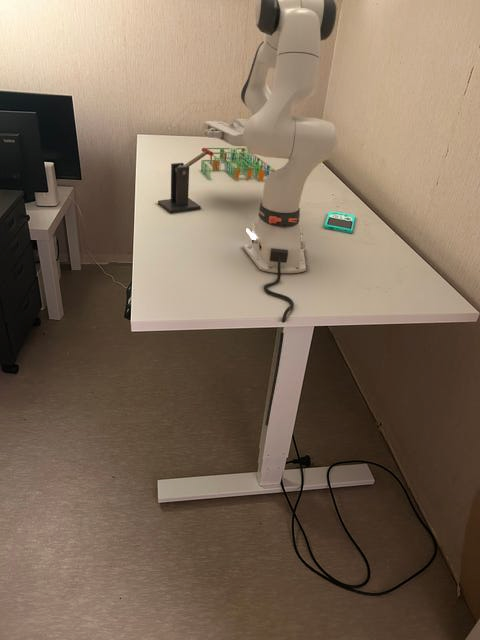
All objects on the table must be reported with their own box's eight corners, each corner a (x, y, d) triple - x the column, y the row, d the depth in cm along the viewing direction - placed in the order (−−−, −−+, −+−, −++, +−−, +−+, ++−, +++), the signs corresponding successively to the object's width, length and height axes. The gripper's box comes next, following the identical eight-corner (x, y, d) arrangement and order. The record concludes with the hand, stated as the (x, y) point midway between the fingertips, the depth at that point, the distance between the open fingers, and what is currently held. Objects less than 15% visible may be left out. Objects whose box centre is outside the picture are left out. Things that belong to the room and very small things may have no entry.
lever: (206, 151, 165) (203, 145, 163) (214, 155, 161) (211, 149, 160) (174, 173, 162) (171, 167, 160) (182, 177, 159) (179, 172, 157)
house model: (275, 180, 204) (277, 169, 201) (212, 182, 194) (213, 170, 191) (245, 157, 230) (246, 148, 228) (188, 158, 220) (188, 147, 217)
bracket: (187, 199, 173) (188, 159, 165) (200, 209, 167) (202, 168, 159) (157, 203, 167) (157, 162, 159) (170, 213, 161) (171, 170, 152)
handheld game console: (355, 218, 175) (356, 214, 174) (352, 233, 162) (353, 230, 161) (328, 213, 176) (329, 209, 176) (323, 228, 163) (324, 224, 162)
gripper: (224, 116, 170) (191, 117, 163) (256, 129, 157) (222, 131, 150) (223, 134, 174) (190, 135, 167) (254, 148, 161) (221, 151, 154)
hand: (206, 133), depth 158 cm, fingers closed
